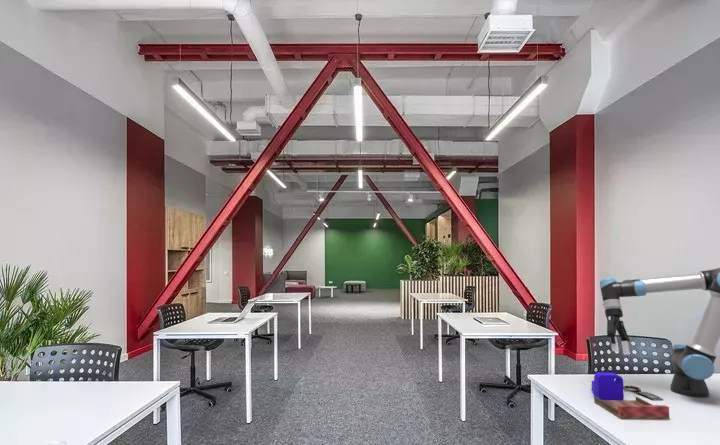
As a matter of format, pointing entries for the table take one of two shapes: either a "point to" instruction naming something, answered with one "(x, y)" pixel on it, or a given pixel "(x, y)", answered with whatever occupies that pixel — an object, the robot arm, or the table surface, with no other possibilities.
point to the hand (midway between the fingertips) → (621, 353)
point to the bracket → (608, 386)
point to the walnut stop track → (627, 402)
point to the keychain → (638, 391)
